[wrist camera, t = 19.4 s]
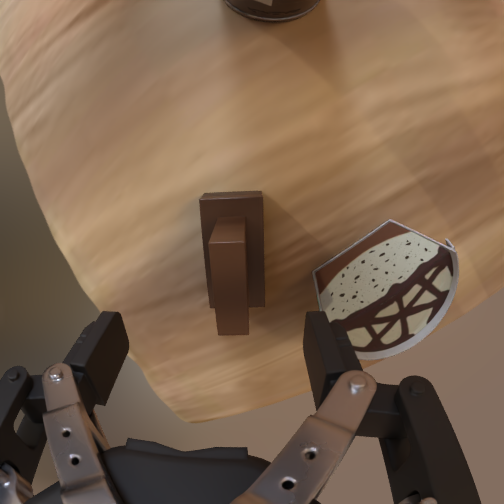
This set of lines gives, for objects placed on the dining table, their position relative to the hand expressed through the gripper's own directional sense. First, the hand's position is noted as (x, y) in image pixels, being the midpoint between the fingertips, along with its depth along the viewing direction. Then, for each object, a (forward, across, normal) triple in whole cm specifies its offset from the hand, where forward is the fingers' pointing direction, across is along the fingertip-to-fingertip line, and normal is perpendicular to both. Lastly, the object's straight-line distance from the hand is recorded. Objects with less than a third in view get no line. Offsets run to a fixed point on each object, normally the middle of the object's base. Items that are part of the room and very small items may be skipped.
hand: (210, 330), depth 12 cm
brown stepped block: (+15, 0, +2) cm, 16 cm away
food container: (+15, -13, +5) cm, 21 cm away
